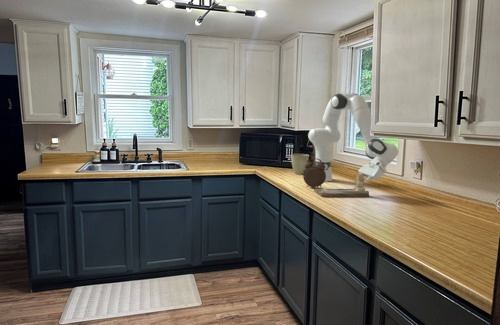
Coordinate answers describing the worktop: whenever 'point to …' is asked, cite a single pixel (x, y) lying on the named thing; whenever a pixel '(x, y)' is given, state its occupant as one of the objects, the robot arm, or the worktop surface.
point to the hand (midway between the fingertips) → (360, 180)
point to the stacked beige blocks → (359, 183)
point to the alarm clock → (314, 174)
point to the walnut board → (341, 193)
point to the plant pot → (299, 162)
